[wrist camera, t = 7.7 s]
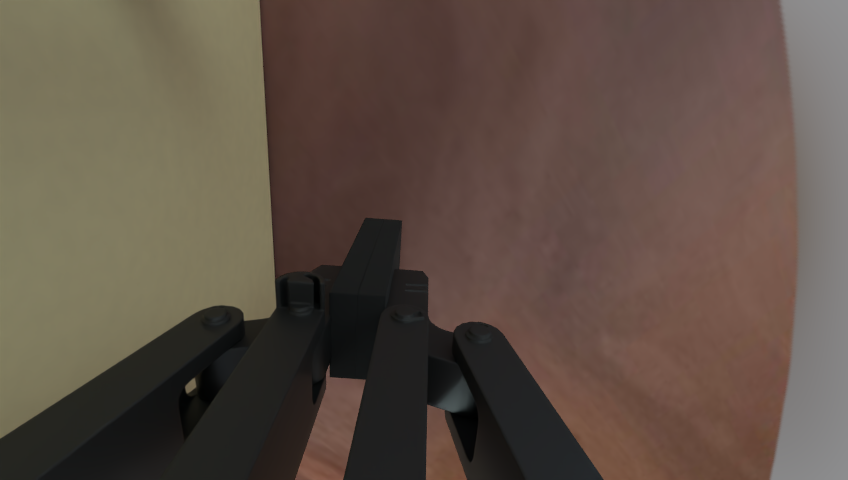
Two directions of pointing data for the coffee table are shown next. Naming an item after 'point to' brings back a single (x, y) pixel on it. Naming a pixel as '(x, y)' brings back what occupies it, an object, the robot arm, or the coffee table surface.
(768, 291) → the coffee table surface
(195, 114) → the door
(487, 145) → the coffee table surface
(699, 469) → the coffee table surface
